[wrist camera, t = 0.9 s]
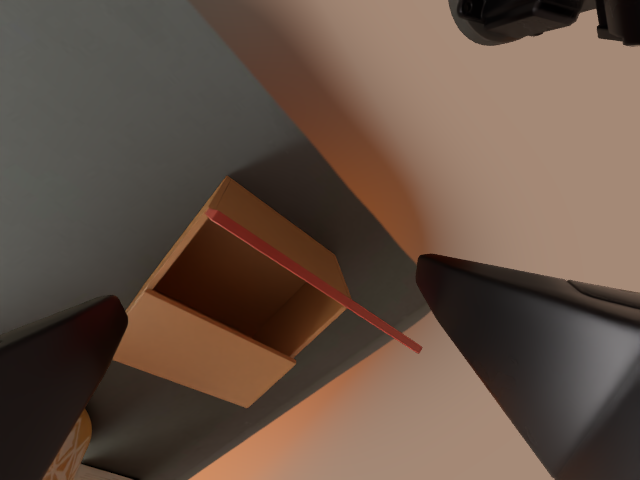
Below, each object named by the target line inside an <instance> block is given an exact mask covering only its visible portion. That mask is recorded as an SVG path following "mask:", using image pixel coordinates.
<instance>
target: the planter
mask: <svg viewBox="0 0 640 480" xmlns="http://www.w3.org/2000/svg"><path fill="white" fill-rule="evenodd" d="M91 435H92V425H91V421H90V417H89V415H88V413H87V411H86V409H84V410H83V412H82V414H81V416H80V417H79V419H78V421H77V422H76V424H75V426H74V427H73V429H72V431H71V432H70V434H69V436H68V437H67V439H66V441H65V442H64V444H63V446H62V448H61V449H60V451H59V453H58V454H57V456H56V458H55V459H54V461H53V463H52V464H51V466H50V468H49V469H48V471H47V473H46V475H45V476H44V478H43V480H73V479H74V476H75V474H76V472H77V470H78V468H79V465H80V463H81V461H82V459H83V457H84V454H85V452H86V450H87V448H88V445H89V443H90V439H91Z"/></svg>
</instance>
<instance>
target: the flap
mask: <svg viewBox="0 0 640 480" xmlns="http://www.w3.org/2000/svg"><path fill="white" fill-rule="evenodd" d="M205 214H206V215H207V216H208V217H209V218H210V219H211V220H212V221H213V222H215V223H216V224H218V225H220V226H221V227H223V228H224V229H226V230H227V231H229V232H230V233H232V234H233V235H235V236H237V237H238V238H240V239H241V240H243V241H244V242H246V243H247V244H249V245H251V246H252V247H254V248H255V249H257V250H258V251H260V252H261V253H263V254H264V255H266V256H268V257H269V258H271V259H272V260H274V261H275V262H277V263H278V264H280V265H281V266H283V267H285V268H286V269H288V270H289V271H291V272H292V273H294V274H295V275H297V276H299V277H300V278H302V279H303V280H305V281H306V282H308V283H309V284H311V285H312V286H314V287H316V288H317V289H319V290H320V291H322V292H323V293H325V294H326V295H328V296H329V297H331V298H333V299H334V300H336V301H337V302H339V303H340V304H342V305H343V306H345V307H346V308H348V309H350V310H351V311H353V312H354V313H356V314H357V315H359V316H360V317H362V318H364V319H365V320H367V321H368V322H370V323H371V324H373V325H374V326H376V327H377V328H379V329H381V330H382V331H384V332H385V333H387V334H388V335H390V336H391V337H393V338H394V339H396V340H398V341H399V342H401V343H402V344H404V345H405V346H407V347H409V348H410V349H412V350H413V351H415V352H416V353H418V354H419V353H420V351H421V350H422V347H421V346H420V345H419V344H417V343H415V342H414V341H413V340H411V339H410V338H408V337H407V336H405V335H404V334H402V333H401V332H399V331H398V330H396V329H395V328H393V327H392V326H390V325H389V324H387V323H386V322H384V321H383V320H381V319H380V318H378V317H377V316H375V315H374V314H372V313H371V312H369V311H368V310H366V309H365V308H363V307H362V306H360V305H359V304H357V303H356V302H355V301H353V300H352V299H350V298H349V297H347V296H346V295H344V294H343V293H341V292H340V291H338V290H337V289H335V288H334V287H332V286H331V285H329V284H328V283H326V282H325V281H323V280H322V279H320V278H319V277H317V276H316V275H314V274H313V273H311V272H310V271H308V270H307V269H305V268H304V267H302V266H301V265H299V264H298V263H296V262H295V261H293V260H292V259H290V258H289V257H287V256H286V255H284V254H283V253H281V252H280V251H278V250H277V249H275V248H274V247H272V246H271V245H269V244H268V243H266V242H265V241H263V240H262V239H260V238H259V237H257V236H256V235H254V234H253V233H252V232H250V231H249V230H247V229H246V228H244V227H243V226H241V225H240V224H238V223H237V222H235V221H234V220H232V219H231V218H229V217H228V216H226V215H225V214H223V213H222V212H220V211H218V210H214V209H211V208H208V210H207V211H206V212H205Z"/></svg>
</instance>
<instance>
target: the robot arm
mask: <svg viewBox="0 0 640 480" xmlns="http://www.w3.org/2000/svg"><path fill="white" fill-rule="evenodd" d="M465 4H467V6H468V10H467V12H465V11H464V5H465ZM592 9H597V15H598V21H599V25H598V26H597V33H598V38H601V39H608V40H616V41H623V45H626V46H632V47H634V46H640V0H459V2H458V5H457V10H456V12H457V15H458V17H459V18H461V19H465V20H469V21H473V22H477V23H481V24H484V28H485V30H486V31H488V32H493V33H497V34H501V35H505V36H509V37H513V38H520V37H524V36H538V35H541V34H543V32H545V31H550V30H554V29H558V28H562V27H566V26H570V25H571V24H572V23H574V22H576V20H577V18H578V16H579V14H580V13H581V12H585V11H588V10H592ZM416 283H417V285H418V287H419V289H420V291H421V293H422V294H423V296H424V298H425V300H426V302H427V303H428V305H429V307H430V309H431V310H432V312H433V314H434V315H435V317H436V319H437V320H438V322H439V323H440V325H441V326H442V327H443V329H444V330H445V332H446V333H447V334H448V336H449V337H450V338H451V340H452V341H453V342H454V344H455V345H456V346H457V348H458V349H459V351H460V352H461V353H462V355H463V356H464V357H465V359H466V360H467V362H468V363H469V364H470V366H471V367H472V368H473V370H474V371H475V373H476V374H477V375H478V377H479V378H480V379H481V381H482V382H483V383H484V385H485V386H486V388H487V389H488V390H489V392H490V393H491V394H492V396H493V397H494V398H495V400H496V401H497V403H498V404H499V405H500V407H501V408H502V409H503V411H504V412H505V414H506V415H507V416H508V418H509V419H510V420H511V422H512V423H513V424H514V426H515V427H516V429H517V430H518V431H519V433H520V434H521V435H522V437H523V438H524V439H525V441H526V442H527V444H528V445H529V446H530V448H531V449H532V450H533V452H534V453H535V455H536V456H537V457H538V459H539V460H540V461H541V463H542V464H543V465H544V467H545V468H546V469H547V471H548V472H549V474H550V475H551V476H552V477H553V478H555V480H640V293H638V292H632V291H626V290H621V289H616V288H610V287H605V286H599V285H594V284H588V283H583V282H578V281H573V280H568V281H566V280H565V279H560V278H555V277H550V276H544V275H539V274H534V273H529V272H524V271H518V270H514V269H508V268H503V267H498V266H493V265H488V264H483V263H478V262H472V261H467V260H462V259H457V258H452V257H447V256H442V255H437V254H424V255H420V256H419V258H418V262H417V270H416ZM127 326H128V316H127V314H126V312H125V310H124V308H123V306H122V304H121V302H120V300H119V299H118V297H116V296H114V295H109V296H101V297H97V298H95V299H92V300H89V301H87V302H84V303H82V304H79V305H76V306H74V307H71V308H69V309H66V310H64V311H61V312H58V313H56V314H53V315H51V316H48V317H45V318H43V319H40V320H38V321H35V322H32V323H30V324H27V325H25V326H22V327H19V328H17V329H14V330H12V331H9V332H6V333H4V334H1V335H0V480H43V478H44V476H45V475H46V473H47V471H48V469H49V468H50V466H51V464H52V463H53V461H54V459H55V458H56V456H57V454H58V453H59V451H60V449H61V448H62V446H63V444H64V442H65V441H66V439H67V437H68V436H69V434H70V432H71V431H72V429H73V427H74V426H75V424H76V422H77V421H78V419H79V417H80V416H81V414H82V412H83V410H84V409H85V407H86V405H87V404H88V402H89V400H90V399H91V397H92V395H93V394H94V392H95V390H96V389H97V387H98V385H99V383H100V382H101V380H102V378H103V377H104V375H105V373H106V371H107V369H108V367H109V365H110V363H111V361H112V359H113V357H114V355H115V353H116V350H117V348H118V346H119V344H120V342H121V340H122V337H123V335H124V333H125V331H126V329H127Z"/></svg>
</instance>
